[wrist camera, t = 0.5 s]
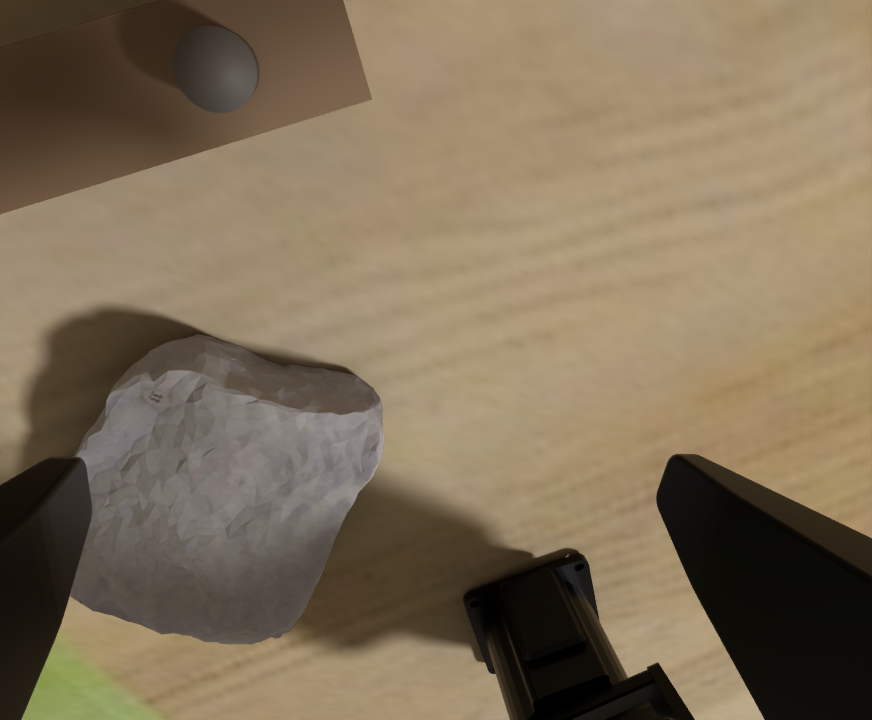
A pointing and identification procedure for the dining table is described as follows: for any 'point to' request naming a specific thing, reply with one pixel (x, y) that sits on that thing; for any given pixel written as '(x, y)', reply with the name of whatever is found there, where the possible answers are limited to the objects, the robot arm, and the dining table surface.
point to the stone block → (221, 489)
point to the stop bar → (165, 87)
